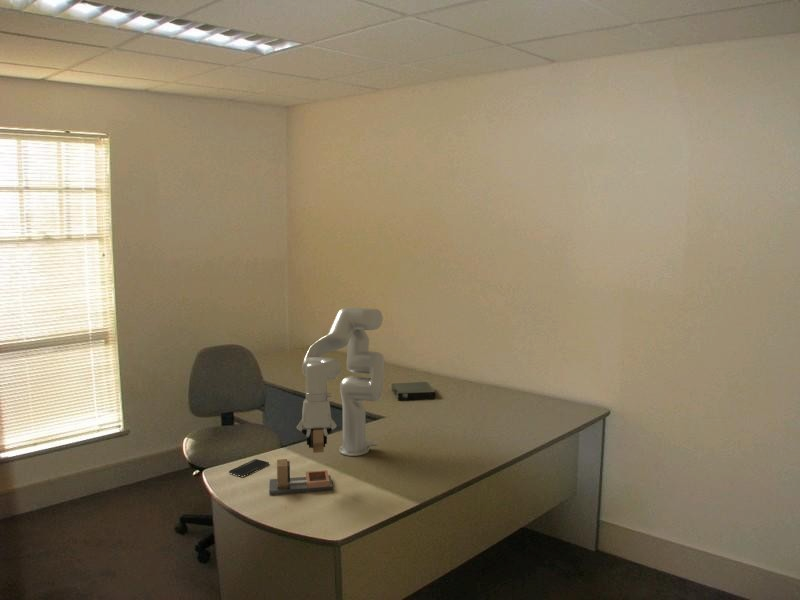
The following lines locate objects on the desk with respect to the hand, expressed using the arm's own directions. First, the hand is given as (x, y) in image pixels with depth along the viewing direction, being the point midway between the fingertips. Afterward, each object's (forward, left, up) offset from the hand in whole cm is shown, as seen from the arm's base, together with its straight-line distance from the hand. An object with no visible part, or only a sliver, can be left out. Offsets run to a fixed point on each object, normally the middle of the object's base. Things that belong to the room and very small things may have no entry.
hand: (316, 445), depth 223 cm
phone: (+25, -20, -16) cm, 36 cm away
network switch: (-59, -111, -16) cm, 127 cm away
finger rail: (+6, 0, -15) cm, 16 cm away
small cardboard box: (0, 0, -1) cm, 1 cm away
